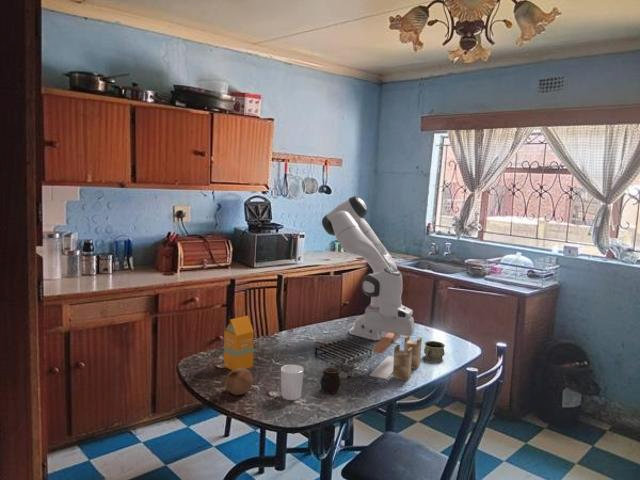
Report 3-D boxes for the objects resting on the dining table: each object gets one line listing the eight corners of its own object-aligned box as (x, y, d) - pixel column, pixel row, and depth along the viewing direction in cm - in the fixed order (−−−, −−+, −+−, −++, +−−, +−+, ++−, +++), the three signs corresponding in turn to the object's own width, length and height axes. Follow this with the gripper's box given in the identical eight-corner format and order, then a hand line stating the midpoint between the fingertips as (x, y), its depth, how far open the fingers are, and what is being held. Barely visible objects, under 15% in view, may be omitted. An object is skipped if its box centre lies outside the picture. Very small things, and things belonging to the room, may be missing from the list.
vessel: (432, 352, 228) (433, 338, 227) (449, 357, 222) (451, 343, 221) (417, 358, 219) (418, 344, 218) (435, 364, 213) (436, 350, 212)
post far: (403, 365, 210) (404, 337, 208) (405, 362, 214) (407, 335, 212) (417, 368, 208) (419, 340, 206) (419, 365, 211) (421, 337, 210)
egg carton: (356, 376, 198) (357, 366, 197) (340, 380, 194) (341, 369, 194) (342, 367, 207) (342, 357, 206) (326, 370, 203) (326, 360, 203)
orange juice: (223, 366, 202) (224, 317, 200) (241, 360, 209) (242, 313, 206) (235, 372, 197) (236, 321, 194) (253, 366, 203) (254, 317, 201)
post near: (392, 377, 198) (394, 347, 196) (395, 374, 201) (397, 344, 200) (407, 380, 195) (409, 350, 193) (410, 377, 199) (412, 347, 197)
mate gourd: (316, 388, 185) (318, 361, 184) (335, 385, 188) (337, 359, 187) (324, 396, 179) (326, 368, 178) (344, 393, 182) (345, 366, 181)
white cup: (279, 391, 182) (280, 364, 180) (302, 391, 182) (303, 364, 181) (280, 401, 174) (280, 373, 173) (303, 401, 175) (304, 373, 173)
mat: (369, 375, 198) (369, 374, 198) (388, 356, 220) (388, 355, 220) (386, 379, 196) (386, 378, 195) (404, 359, 217) (404, 358, 217)
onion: (233, 405, 176) (224, 385, 171) (227, 387, 184) (219, 368, 179) (259, 393, 178) (251, 373, 173) (252, 376, 186) (244, 356, 181)
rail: (373, 352, 196) (374, 344, 196) (393, 335, 218) (393, 328, 217) (381, 353, 195) (381, 346, 195) (400, 336, 216) (400, 329, 216)
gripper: (362, 306, 206) (361, 339, 208) (412, 314, 197) (409, 349, 199) (368, 303, 212) (366, 335, 214) (416, 311, 203) (414, 344, 205)
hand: (387, 342), depth 206 cm, fingers closed on rail, 3 cm apart
